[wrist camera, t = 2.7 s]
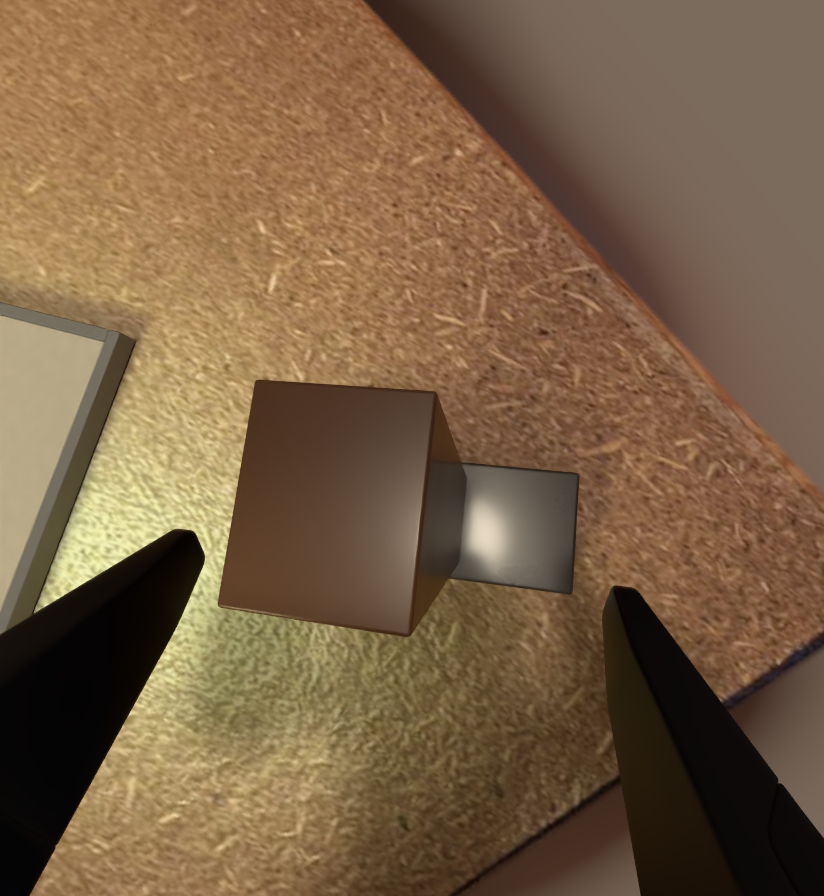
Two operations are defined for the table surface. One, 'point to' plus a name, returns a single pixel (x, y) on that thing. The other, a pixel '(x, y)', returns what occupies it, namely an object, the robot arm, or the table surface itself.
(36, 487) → the whiteboard
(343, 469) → the brown rubber stamp
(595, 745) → the table surface
